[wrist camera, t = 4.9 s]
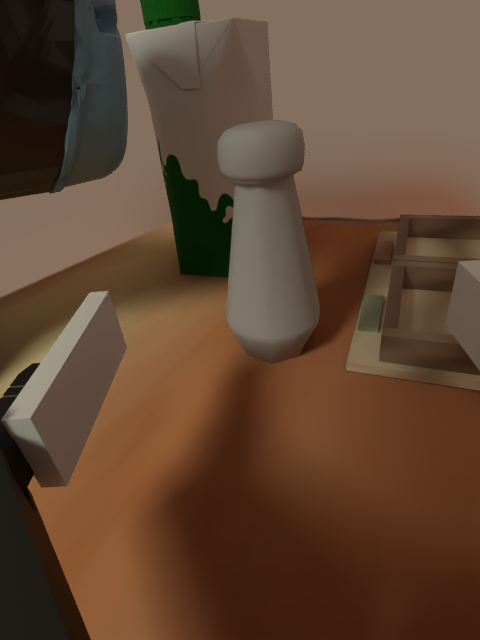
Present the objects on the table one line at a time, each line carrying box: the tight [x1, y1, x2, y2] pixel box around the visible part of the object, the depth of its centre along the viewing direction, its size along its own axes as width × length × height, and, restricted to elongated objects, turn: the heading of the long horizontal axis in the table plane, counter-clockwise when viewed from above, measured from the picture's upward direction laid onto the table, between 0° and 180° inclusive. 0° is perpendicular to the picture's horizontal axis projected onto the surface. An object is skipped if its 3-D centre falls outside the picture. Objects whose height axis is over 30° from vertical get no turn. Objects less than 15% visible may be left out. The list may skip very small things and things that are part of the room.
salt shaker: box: [217, 120, 320, 363], centre depth 23 cm, size 6×6×13 cm
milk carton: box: [126, 0, 273, 277], centre depth 33 cm, size 9×9×20 cm
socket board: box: [346, 215, 480, 391], centre depth 28 cm, size 11×20×2 cm, turn 159°
